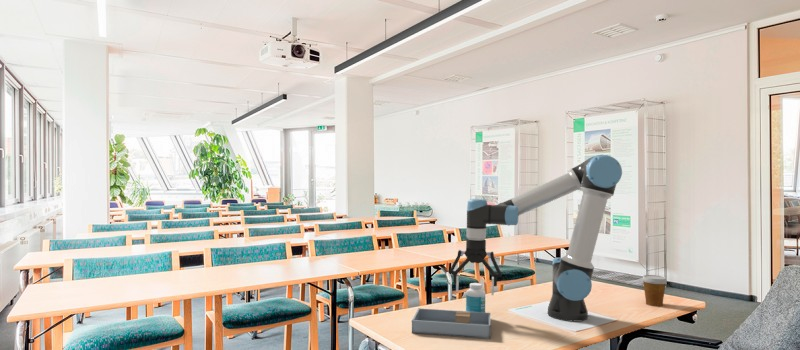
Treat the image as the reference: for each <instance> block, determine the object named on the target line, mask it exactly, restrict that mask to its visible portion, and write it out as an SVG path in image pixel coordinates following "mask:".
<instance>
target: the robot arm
mask: <svg viewBox="0 0 800 350" xmlns="http://www.w3.org/2000/svg"><path fill="white" fill-rule="evenodd" d="M622 169H623V168H622V165H621V164H620V162H619V161H618V160H617V159H616V158H614V157H613V156H612V155H608V154H598V155H595V156H592V157H588V159H585V160H584V161H582V163H581V162H580V164H578V165H576V166H574V167H573V168H570V169H569V171H568V172H567V173H565V174H562V175H561V176H558V177H556V178H554V179H551V180H550V181H548V182H544V183H543V184H541V185H538V186H537V187H534V188H532V189H530V190H527V191H525V192H523V193H521V194H519V195H516V196H515V197H512V198H509V199H507V200H505V201H503V202H500V203H498V204H488V201H487V199H485V198H484V199H483V198H482V199H481V198H471V199H468V200H467V206H466V207H467V208H466V234H465V235H466V245H465V250H461V249H458V251H457V256H456V258H455V259H454V262H453V263H452V265H451V267H450V269H449V270H448V273H449V274H450V275H452V276H453V284H455V293H458V294H459V286H460V285H459V283H460V282H459V279H460V278H459V277H460V275H459V273H460V272H461V271H462V269H464V268H465V266H467V264H468V263H469V262H470V263H471V264H480V263H482V265H483V266H484V267H485V268H486V269H487V271H488V272H489V273H490V274H491V296H494V290H495V287H497V285H498V278H501V277H502V275H503V274H502V271H501V269H500V268H499V265H498V263H497V261H496V259H495V257H494V256H495V255H494V251H489V252H487V251H486V249H487V245H486V244H487V241H486V239H487V225H498V226H499V225H500V226H509V227H510V226H517V225H518V224H519V216H521V215H523V214H525V213H528V212H530V211H533V210H535V209H537V208H539V207H541V206H543V205H546V204H548V203H551V202H553V201H556V200H557V199H560V198H563V197H565V196H567V195H569V194H571V193H574V192H576V191H581V192H582V195H581V196H582V197H581V199H580V203H579V207H578V212H577V214H576V215H577V216H576V219H575V221H574V226H573V230H572V233H571V234H572V235H571V238H570V242H569V247H568V249H567V253H566V255H564V256H562V257H554V258H553V259H552V264H551V266H552V286H551V287H552V291H551V292H552V293H551V297H550V301H549V303H548V306H547V314H548V316H549V315H550V317H552V318H554V319H557V320H561V319H562V321H567V320H572V321H571V322H575V321H574V320H582V321H585V320H584V319H586V320H587V319H588V317H589V311H588V309H587V305H586V303H585V299H586V298H587V297H588V296H589V295H590V293H591V291H592V286H593V284H592V276H593V273H594V269H595V266H594V264H593V262H592V259H593V255H594V252H595V249H596V244H597V240H598V237H599V233H600V229H601V226H602V221H603V218H604V216H605V215H604V214H605V210H606V207H607V203H608V200H609V199H610V198H611V197H613V196H614V194H615V191H616V187H617V184H618V183H619V182H620V181H621V178H622V175H623V170H622ZM464 255H465V257H466V259H465V260H464V261H463V262H462V263H461V264H460V265H458V267H457V268H456V266H457V264H458V263H459V260H461V257H463V256H464ZM486 257H488V258H489V259H490V261H491V262H492V264H493V266H494V269H495V270H494V269H493V268H492V267H491V266H490V264H489V263H488V262H487V260H486V259H485V258H486ZM455 268H456V269H455ZM495 271H496V272H497V273H496V272H495Z"/></svg>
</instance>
